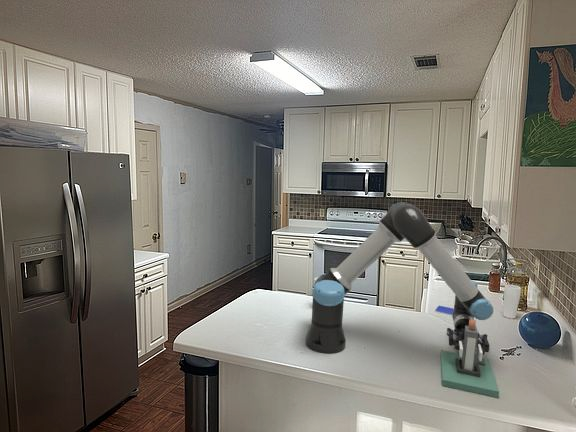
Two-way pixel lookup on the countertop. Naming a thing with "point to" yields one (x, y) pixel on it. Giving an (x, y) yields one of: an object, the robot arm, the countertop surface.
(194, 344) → the countertop surface
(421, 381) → the countertop surface
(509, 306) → the drinking glass
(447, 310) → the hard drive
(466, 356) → the plug
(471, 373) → the board
